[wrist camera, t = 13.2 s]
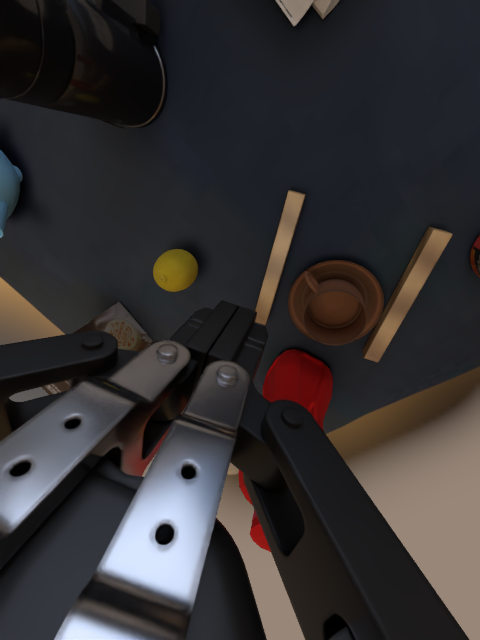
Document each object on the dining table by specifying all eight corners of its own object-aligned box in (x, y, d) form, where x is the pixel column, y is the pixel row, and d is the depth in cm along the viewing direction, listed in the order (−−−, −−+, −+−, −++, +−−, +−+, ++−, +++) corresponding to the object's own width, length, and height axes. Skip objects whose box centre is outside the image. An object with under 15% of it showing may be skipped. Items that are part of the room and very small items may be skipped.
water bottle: (347, 359, 44) (363, 543, 22) (309, 404, 49) (293, 585, 28) (292, 330, 44) (256, 483, 22) (261, 378, 50) (208, 537, 28)
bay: (290, 189, 35) (288, 190, 34) (446, 231, 33) (452, 234, 31) (255, 315, 44) (252, 321, 43) (376, 354, 42) (378, 362, 40)
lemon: (192, 236, 42) (165, 250, 35) (212, 270, 43) (190, 290, 36) (165, 253, 44) (134, 269, 37) (184, 285, 45) (158, 306, 39)
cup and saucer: (273, 307, 43) (266, 327, 38) (324, 238, 37) (323, 249, 32) (341, 351, 43) (342, 377, 38) (402, 289, 37) (414, 309, 32)
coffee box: (100, 317, 53) (20, 369, 40) (120, 300, 50) (41, 350, 37) (133, 355, 55) (68, 416, 42) (154, 341, 52) (92, 402, 39)
